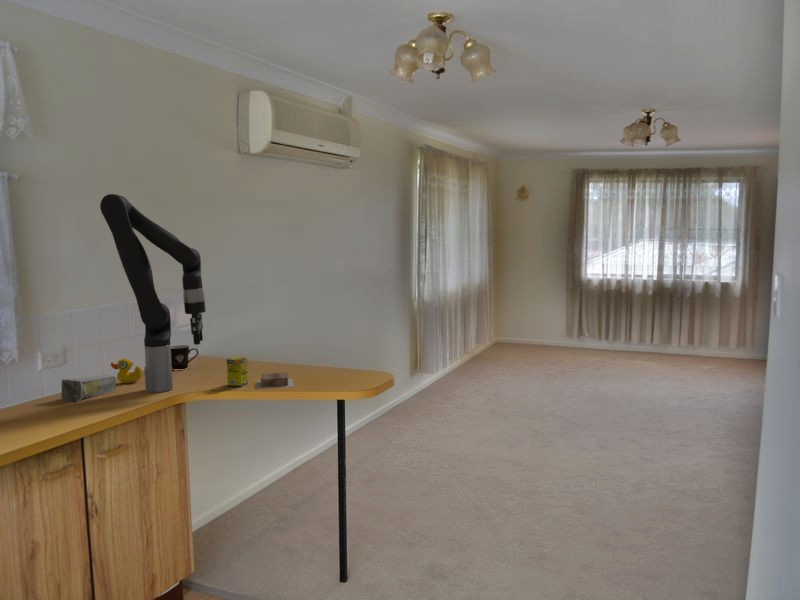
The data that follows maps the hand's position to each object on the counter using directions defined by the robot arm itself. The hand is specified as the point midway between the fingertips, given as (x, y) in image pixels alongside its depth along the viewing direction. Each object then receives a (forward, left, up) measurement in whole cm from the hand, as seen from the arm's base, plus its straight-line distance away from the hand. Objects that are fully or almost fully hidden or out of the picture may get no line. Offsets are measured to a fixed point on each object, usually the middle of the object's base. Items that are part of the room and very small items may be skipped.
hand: (198, 342), depth 243 cm
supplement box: (+14, -1, -18) cm, 23 cm away
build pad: (+28, -2, -18) cm, 33 cm away
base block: (+28, -2, -17) cm, 33 cm away
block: (-39, -2, -18) cm, 43 cm away
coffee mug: (-12, +39, -18) cm, 44 cm away
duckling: (-30, +16, -18) cm, 38 cm away
